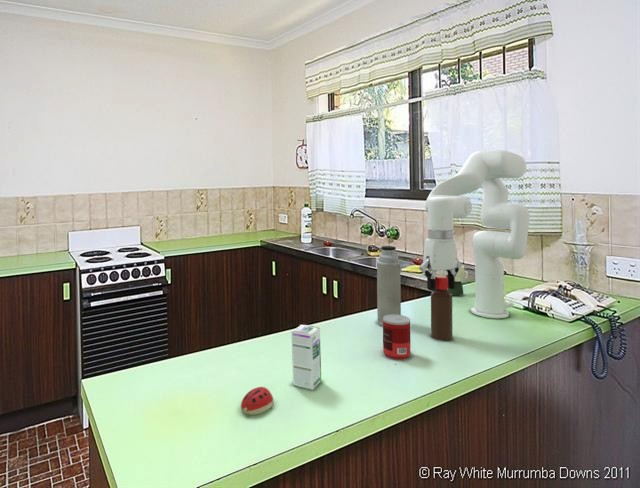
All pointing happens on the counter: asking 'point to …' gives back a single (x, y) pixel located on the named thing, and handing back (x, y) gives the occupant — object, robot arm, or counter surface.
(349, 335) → the counter surface
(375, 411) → the counter surface
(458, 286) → the character mug
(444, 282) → the cap
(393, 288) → the thermos bottle
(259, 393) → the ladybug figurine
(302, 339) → the syrup box
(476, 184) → the robot arm
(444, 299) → the bottle
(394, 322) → the canned food
